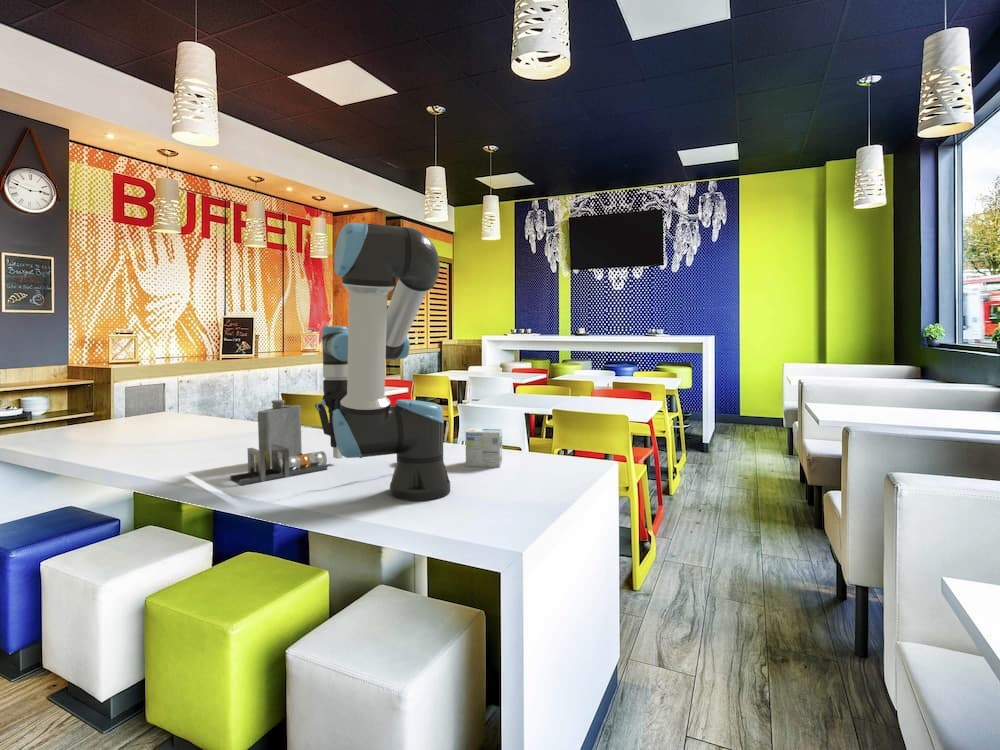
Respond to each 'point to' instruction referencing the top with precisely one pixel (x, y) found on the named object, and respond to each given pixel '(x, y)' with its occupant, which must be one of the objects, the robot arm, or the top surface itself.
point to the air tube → (303, 461)
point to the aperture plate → (267, 461)
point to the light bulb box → (484, 447)
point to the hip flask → (280, 428)
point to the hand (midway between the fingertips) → (337, 457)
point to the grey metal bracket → (261, 461)
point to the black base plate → (272, 475)
